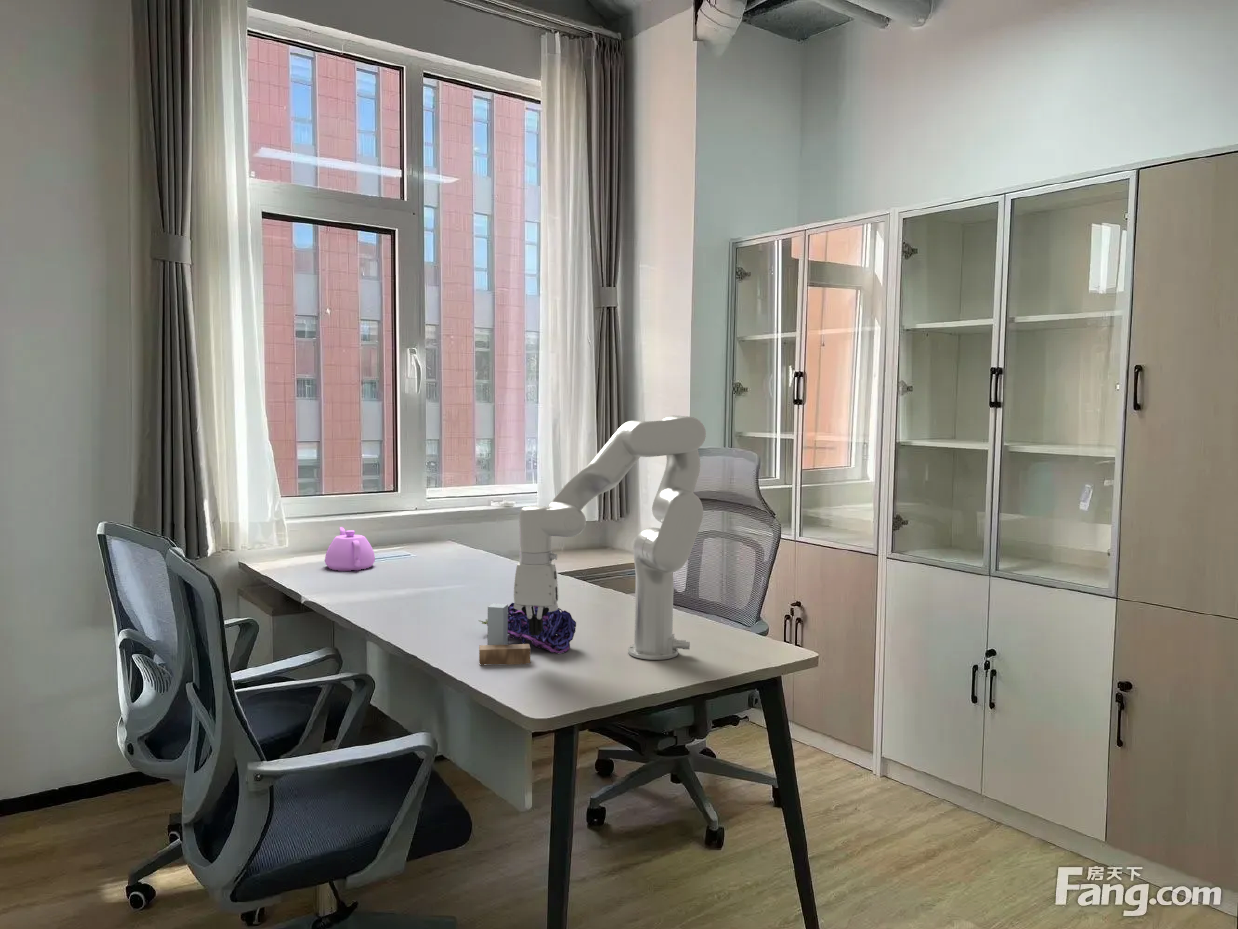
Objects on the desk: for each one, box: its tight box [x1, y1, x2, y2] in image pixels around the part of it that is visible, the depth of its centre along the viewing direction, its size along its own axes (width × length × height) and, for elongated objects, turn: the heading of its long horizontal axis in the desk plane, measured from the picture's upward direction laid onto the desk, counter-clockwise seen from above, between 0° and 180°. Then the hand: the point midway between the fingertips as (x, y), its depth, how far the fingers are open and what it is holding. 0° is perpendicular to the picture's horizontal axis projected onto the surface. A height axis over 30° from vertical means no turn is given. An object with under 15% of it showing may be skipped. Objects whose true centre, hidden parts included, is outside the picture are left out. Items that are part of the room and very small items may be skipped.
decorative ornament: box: [478, 602, 577, 654], centre depth 239 cm, size 13×11×30 cm
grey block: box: [486, 603, 509, 645], centre depth 228 cm, size 4×4×12 cm
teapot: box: [324, 526, 376, 572], centre depth 338 cm, size 25×18×14 cm
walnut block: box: [478, 643, 531, 666], centre depth 220 cm, size 4×4×12 cm
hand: (535, 634), depth 219 cm, fingers closed
